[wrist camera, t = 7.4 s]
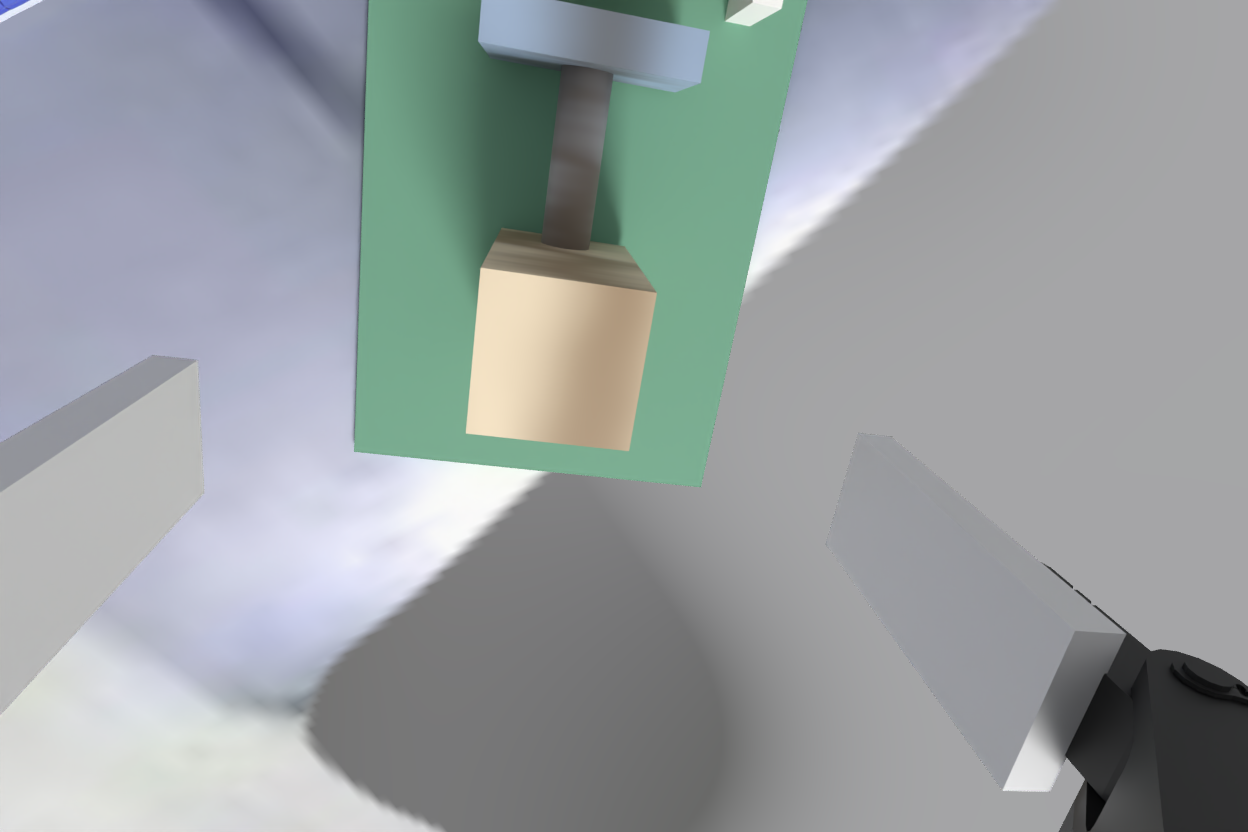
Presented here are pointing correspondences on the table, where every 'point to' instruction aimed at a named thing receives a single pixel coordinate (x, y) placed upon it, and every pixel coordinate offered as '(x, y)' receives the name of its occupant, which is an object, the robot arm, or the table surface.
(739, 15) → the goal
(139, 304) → the table surface
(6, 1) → the blue flat square slab
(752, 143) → the pitch mat
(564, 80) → the rod slider
